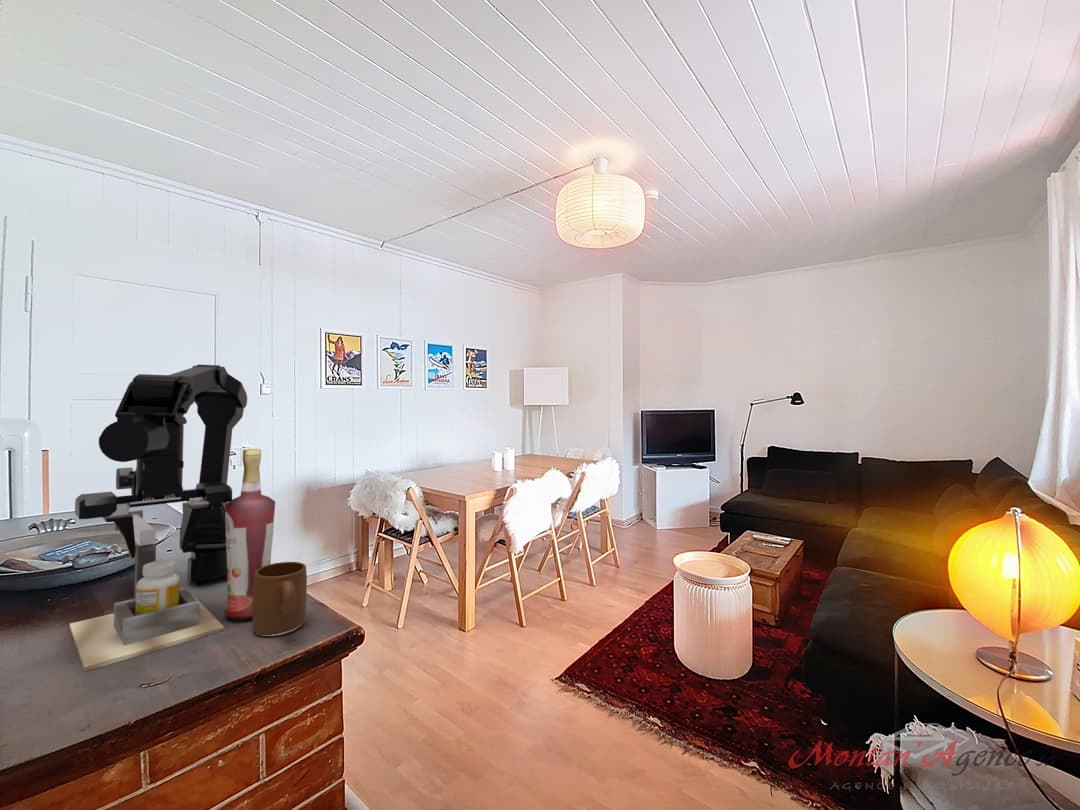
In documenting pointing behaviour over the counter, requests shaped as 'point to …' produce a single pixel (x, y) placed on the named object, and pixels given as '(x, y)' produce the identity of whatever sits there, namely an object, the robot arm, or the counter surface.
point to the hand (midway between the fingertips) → (158, 553)
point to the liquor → (247, 537)
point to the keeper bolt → (141, 529)
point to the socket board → (140, 625)
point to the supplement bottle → (157, 587)
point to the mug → (279, 597)
